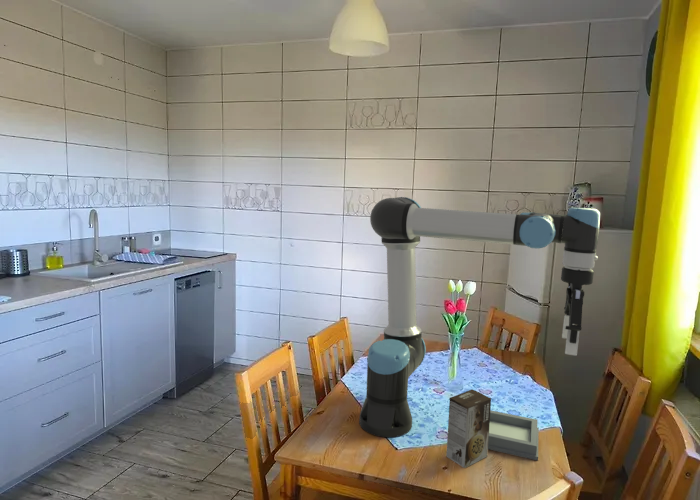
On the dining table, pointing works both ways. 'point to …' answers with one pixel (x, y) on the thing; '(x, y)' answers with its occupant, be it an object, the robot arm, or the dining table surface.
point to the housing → (513, 435)
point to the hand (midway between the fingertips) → (568, 346)
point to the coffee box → (468, 427)
